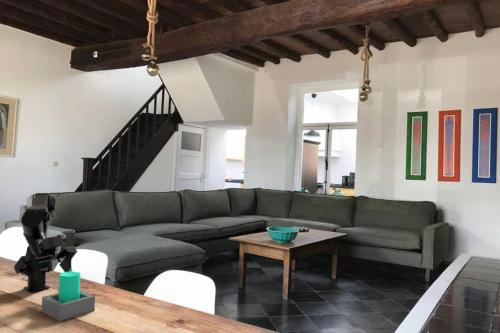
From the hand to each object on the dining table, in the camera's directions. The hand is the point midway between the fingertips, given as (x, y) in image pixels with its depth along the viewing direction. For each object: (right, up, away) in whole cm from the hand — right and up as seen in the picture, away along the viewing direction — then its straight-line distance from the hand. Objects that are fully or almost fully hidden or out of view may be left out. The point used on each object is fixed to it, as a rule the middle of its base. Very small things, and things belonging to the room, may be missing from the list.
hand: (58, 280), depth 123 cm
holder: (+5, -9, -3) cm, 10 cm away
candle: (+5, -8, -3) cm, 9 cm away
